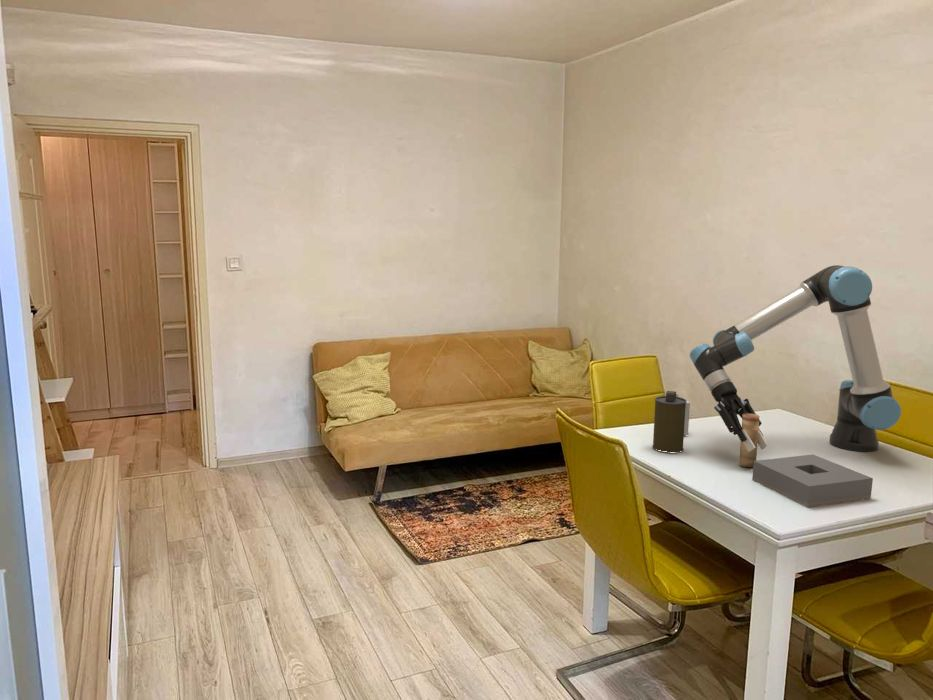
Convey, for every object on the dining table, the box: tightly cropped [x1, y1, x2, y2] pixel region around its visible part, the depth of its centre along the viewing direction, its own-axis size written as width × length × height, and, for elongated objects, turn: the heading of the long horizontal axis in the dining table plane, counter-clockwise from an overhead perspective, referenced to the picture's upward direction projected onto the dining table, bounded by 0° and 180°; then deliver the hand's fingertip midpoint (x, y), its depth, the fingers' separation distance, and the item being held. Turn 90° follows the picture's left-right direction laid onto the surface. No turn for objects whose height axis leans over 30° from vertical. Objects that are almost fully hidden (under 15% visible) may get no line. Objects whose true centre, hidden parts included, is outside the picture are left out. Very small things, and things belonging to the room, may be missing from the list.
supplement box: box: [684, 399, 691, 436], centre depth 260 cm, size 7×7×13 cm
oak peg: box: [738, 413, 760, 468], centre depth 224 cm, size 5×5×16 cm
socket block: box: [751, 454, 874, 508], centre depth 206 cm, size 22×22×6 cm
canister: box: [651, 390, 688, 453], centre depth 241 cm, size 11×10×20 cm
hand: (758, 448), depth 221 cm, fingers closed on oak peg, 5 cm apart
